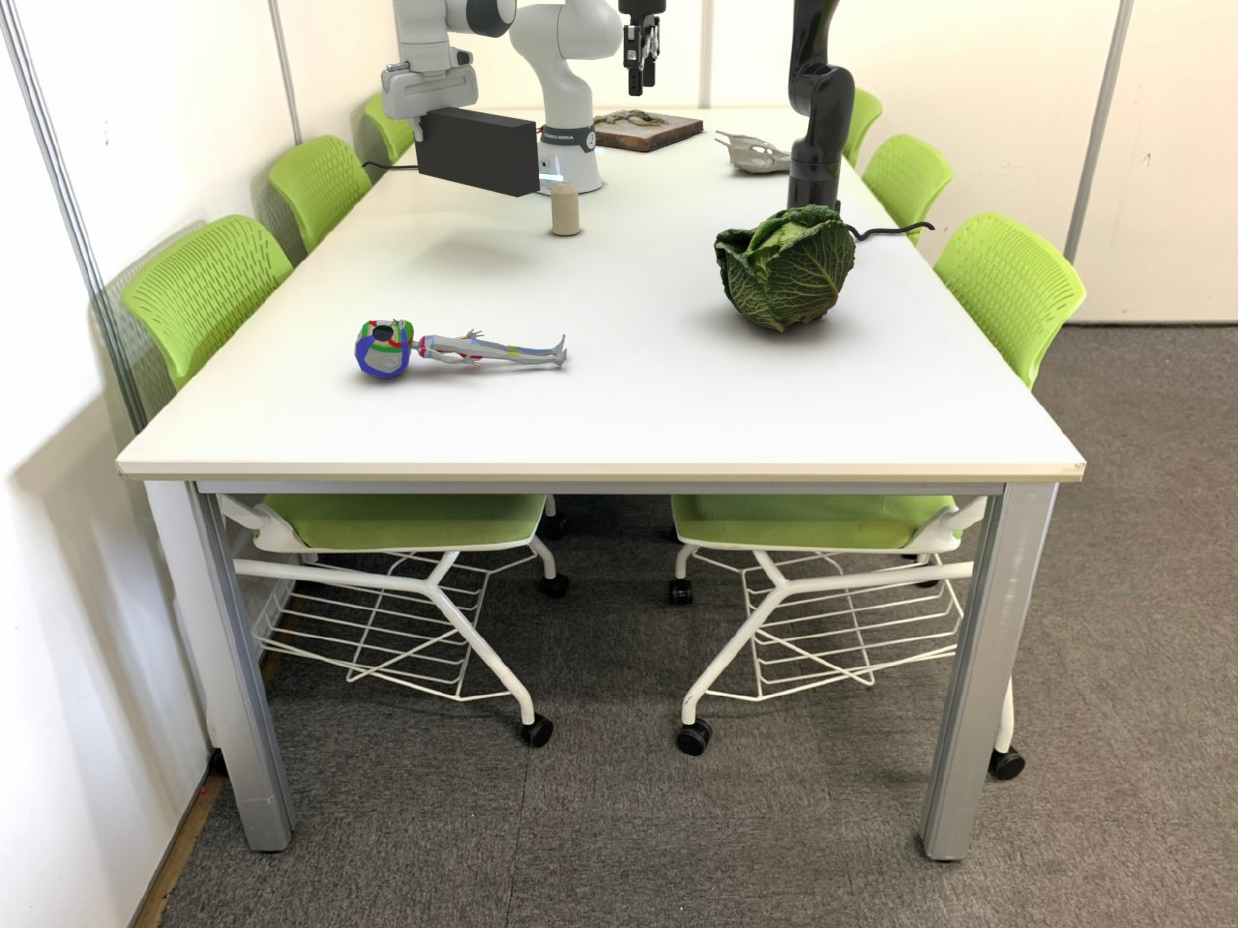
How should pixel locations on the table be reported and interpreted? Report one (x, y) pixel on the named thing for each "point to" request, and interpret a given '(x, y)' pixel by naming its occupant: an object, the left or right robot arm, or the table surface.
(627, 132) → the plaque
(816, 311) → the vegetable
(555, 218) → the candle
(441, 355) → the toy
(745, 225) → the table surface
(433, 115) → the box
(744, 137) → the anatomical model
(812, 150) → the right robot arm
